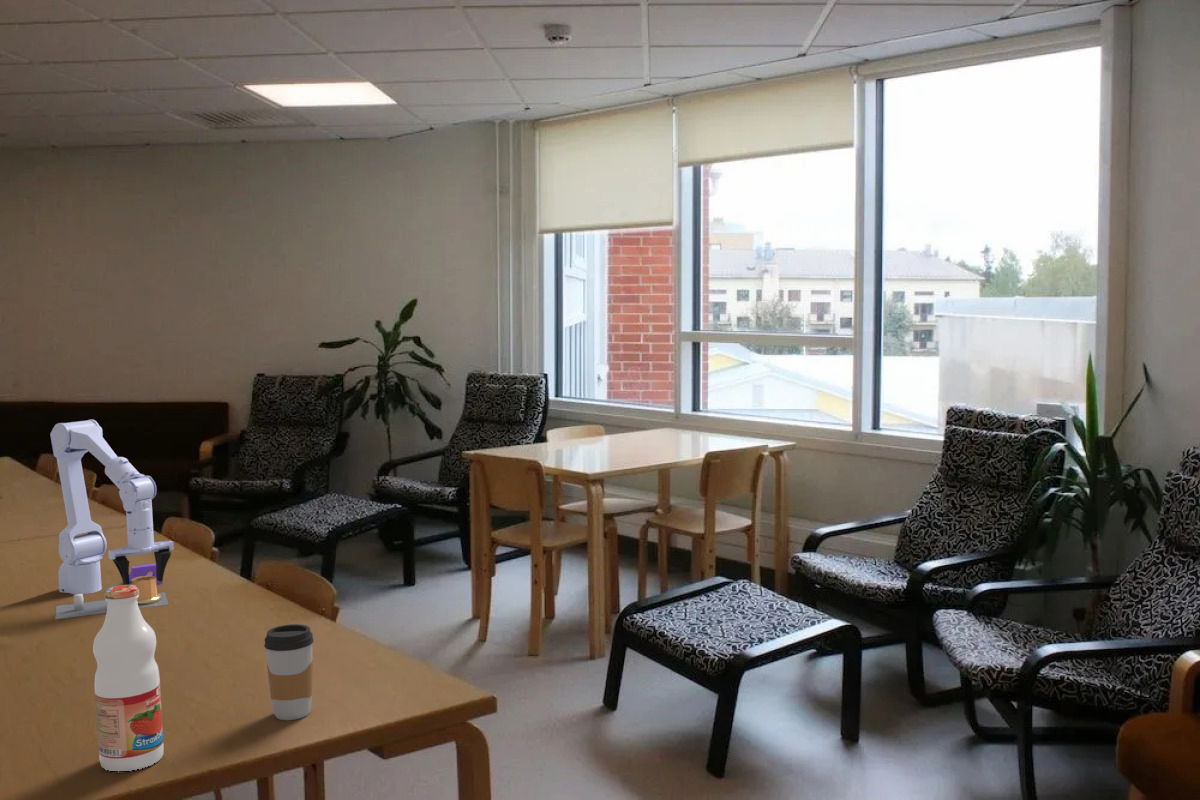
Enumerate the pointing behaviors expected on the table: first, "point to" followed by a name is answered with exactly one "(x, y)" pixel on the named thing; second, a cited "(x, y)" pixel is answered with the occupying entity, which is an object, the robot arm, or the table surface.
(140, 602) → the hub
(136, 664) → the fruit juice
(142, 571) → the bracket
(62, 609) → the board
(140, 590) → the sleeve
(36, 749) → the table surface
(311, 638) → the coffee cup
